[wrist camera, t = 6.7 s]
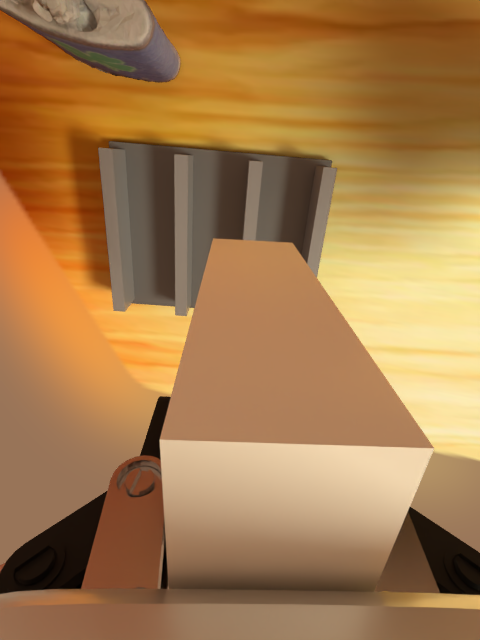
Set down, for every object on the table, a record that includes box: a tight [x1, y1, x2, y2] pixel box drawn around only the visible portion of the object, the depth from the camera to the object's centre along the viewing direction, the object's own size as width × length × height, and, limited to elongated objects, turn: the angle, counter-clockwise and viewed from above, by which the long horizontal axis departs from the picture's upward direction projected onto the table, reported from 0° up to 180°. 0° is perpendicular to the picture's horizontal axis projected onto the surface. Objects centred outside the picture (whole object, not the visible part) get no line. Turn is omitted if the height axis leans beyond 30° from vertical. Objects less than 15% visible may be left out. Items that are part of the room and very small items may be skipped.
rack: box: [98, 141, 337, 316], centre depth 29 cm, size 18×14×4 cm
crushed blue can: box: [0, 0, 180, 83], centre depth 20 cm, size 9×3×11 cm, turn 75°
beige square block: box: [160, 238, 434, 592], centre depth 10 cm, size 3×10×10 cm, turn 177°
